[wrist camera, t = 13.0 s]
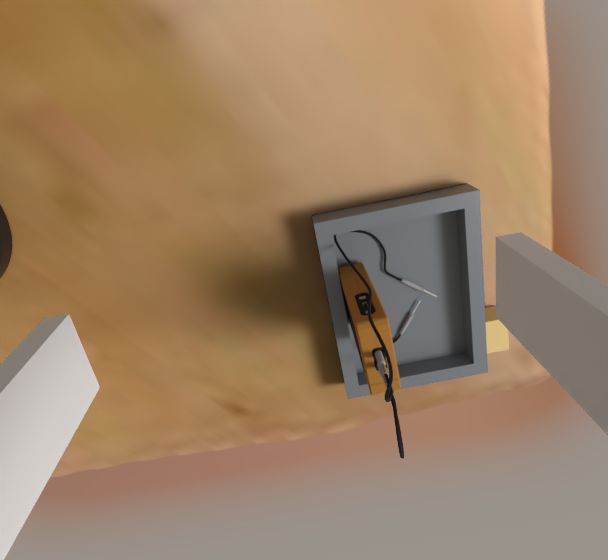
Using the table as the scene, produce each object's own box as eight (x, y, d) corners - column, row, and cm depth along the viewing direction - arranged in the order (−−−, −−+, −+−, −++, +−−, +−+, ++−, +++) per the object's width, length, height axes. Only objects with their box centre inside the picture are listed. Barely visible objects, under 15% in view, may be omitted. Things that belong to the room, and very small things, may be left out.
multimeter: (442, 331, 53) (528, 465, 34) (356, 351, 53) (395, 494, 35) (424, 208, 47) (517, 290, 29) (328, 232, 48) (358, 327, 29)
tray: (344, 383, 56) (347, 398, 53) (311, 215, 47) (313, 223, 45) (497, 353, 55) (509, 368, 52) (491, 178, 47) (504, 184, 44)
